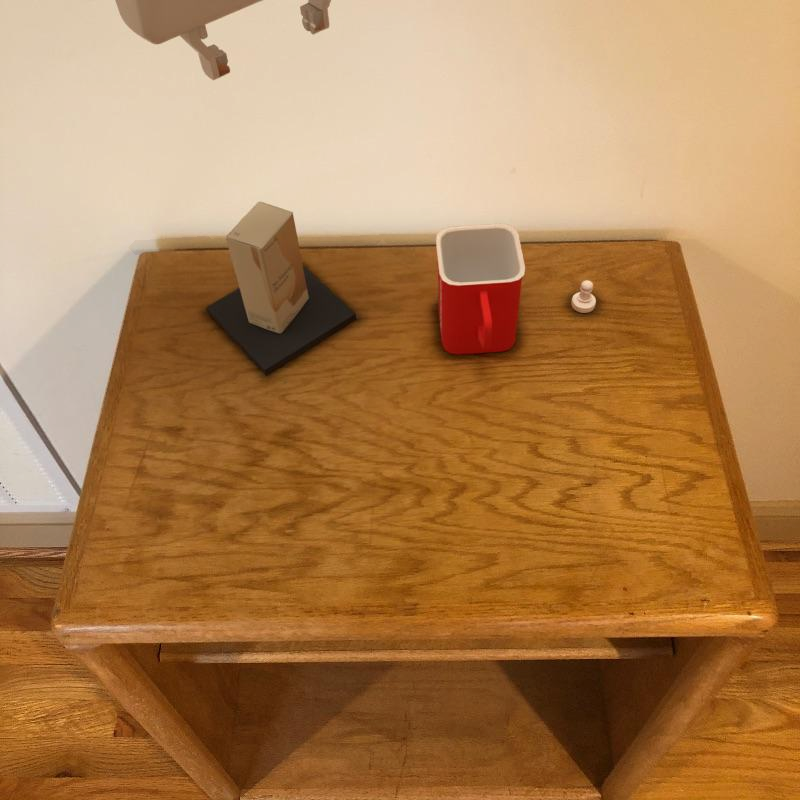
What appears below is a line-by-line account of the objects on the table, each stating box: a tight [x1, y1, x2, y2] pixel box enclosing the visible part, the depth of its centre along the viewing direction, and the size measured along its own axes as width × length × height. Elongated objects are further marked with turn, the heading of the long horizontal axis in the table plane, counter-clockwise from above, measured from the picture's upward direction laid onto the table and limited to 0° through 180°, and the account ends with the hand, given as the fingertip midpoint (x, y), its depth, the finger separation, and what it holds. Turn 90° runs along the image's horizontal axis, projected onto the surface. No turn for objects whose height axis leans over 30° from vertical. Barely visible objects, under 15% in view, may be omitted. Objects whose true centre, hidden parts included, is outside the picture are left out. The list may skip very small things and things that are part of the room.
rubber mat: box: [205, 265, 357, 376], centre depth 87 cm, size 12×12×1 cm
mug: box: [435, 223, 526, 355], centre depth 80 cm, size 12×8×11 cm
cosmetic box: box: [225, 201, 309, 334], centre depth 81 cm, size 6×4×12 cm
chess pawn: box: [571, 279, 597, 314], centre depth 85 cm, size 3×3×4 cm
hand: (268, 51), depth 62 cm, fingers open, 8 cm apart
